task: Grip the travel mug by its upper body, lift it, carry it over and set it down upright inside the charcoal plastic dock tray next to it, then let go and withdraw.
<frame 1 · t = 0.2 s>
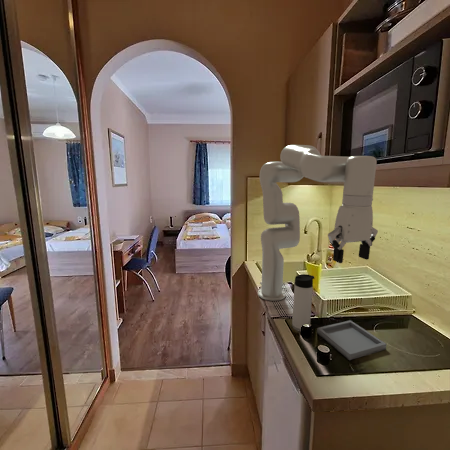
hand: (350, 259, 80), 31 cm above the countertop, tool pointing down, fingers open, 9 cm apart
travel mug: (301, 327, 100), on the countertop
dock tray: (349, 340, 92), on the countertop
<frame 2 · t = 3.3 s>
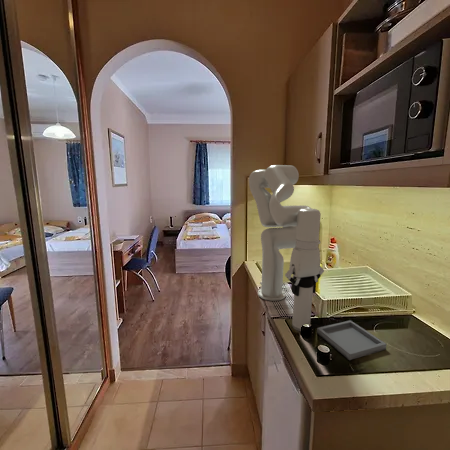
hand: (303, 292, 97), 14 cm above the countertop, tool pointing down, fingers closed on travel mug, 6 cm apart
travel mug: (301, 327, 100), on the countertop, touching gripper
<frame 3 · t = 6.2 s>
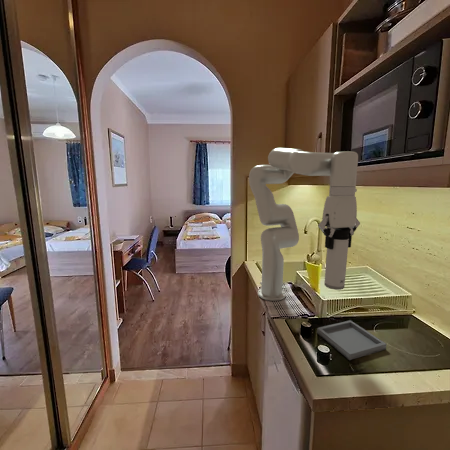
hand: (337, 246, 89), 32 cm above the countertop, tool pointing down, fingers closed on travel mug, 6 cm apart
travel mug: (334, 286, 91), point 18 cm above the countertop, touching gripper
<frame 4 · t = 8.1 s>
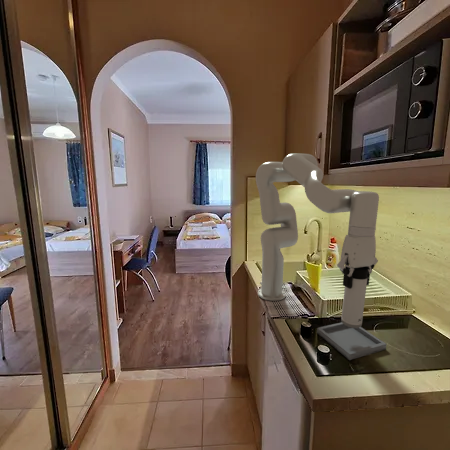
hand: (355, 284, 88), 20 cm above the countertop, tool pointing down, fingers closed on travel mug, 6 cm apart
travel mug: (351, 323, 91), point 6 cm above the countertop, touching gripper
when the fingers open (15 cm above the countertop, at t = 9.5 s): travel mug drops 1 cm, resting on dock tray.
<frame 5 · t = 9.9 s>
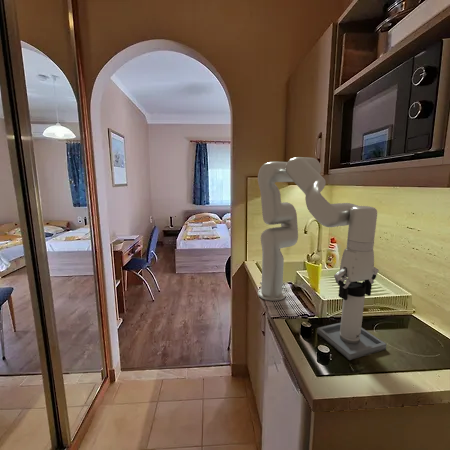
hand: (354, 296, 89), 16 cm above the countertop, tool pointing down, fingers open, 9 cm apart
travel mug: (349, 339, 92), resting on dock tray
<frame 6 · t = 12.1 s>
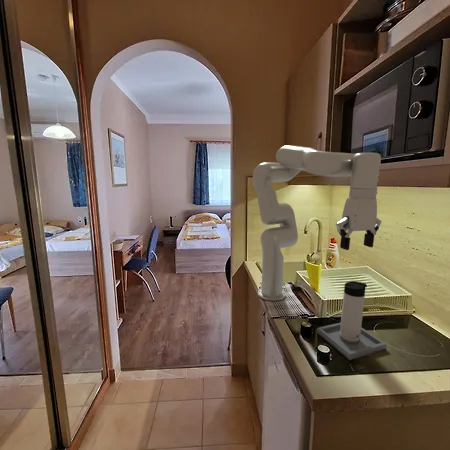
hand: (356, 247, 87), 32 cm above the countertop, tool pointing down, fingers open, 9 cm apart
nothing on the countertop moved.
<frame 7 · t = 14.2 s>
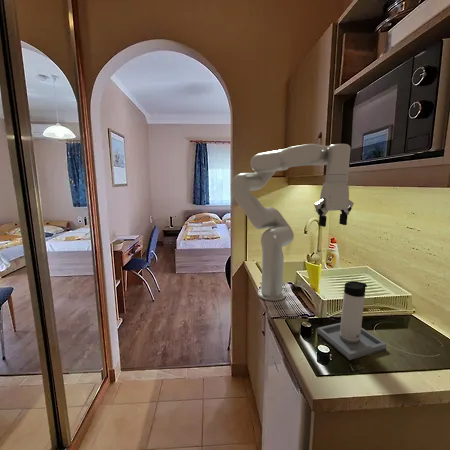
hand: (332, 225, 103), 36 cm above the countertop, tool pointing down, fingers open, 9 cm apart
nothing on the countertop moved.
at the end: travel mug inside the target area on the dock tray (0.4 cm from its centre), point 0.4 cm above the dock tray's base; travel mug tilted 0°; the gripper is holding nothing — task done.
